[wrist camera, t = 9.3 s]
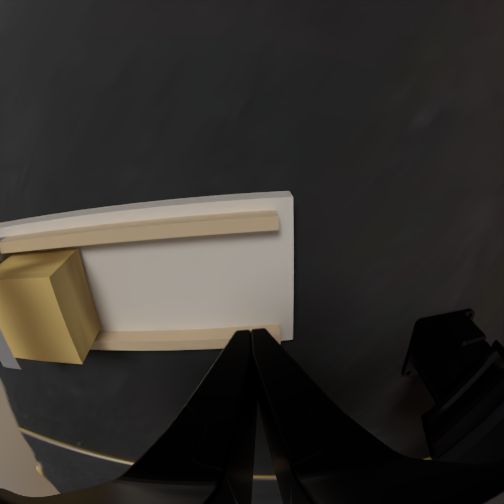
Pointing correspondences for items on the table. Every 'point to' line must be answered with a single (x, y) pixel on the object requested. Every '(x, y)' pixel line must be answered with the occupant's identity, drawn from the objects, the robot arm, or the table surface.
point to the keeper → (47, 306)
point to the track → (174, 268)
